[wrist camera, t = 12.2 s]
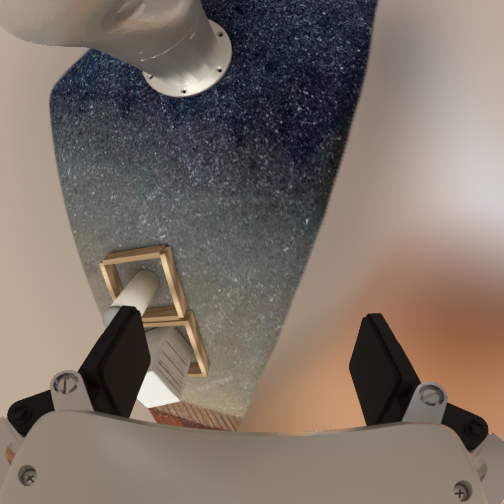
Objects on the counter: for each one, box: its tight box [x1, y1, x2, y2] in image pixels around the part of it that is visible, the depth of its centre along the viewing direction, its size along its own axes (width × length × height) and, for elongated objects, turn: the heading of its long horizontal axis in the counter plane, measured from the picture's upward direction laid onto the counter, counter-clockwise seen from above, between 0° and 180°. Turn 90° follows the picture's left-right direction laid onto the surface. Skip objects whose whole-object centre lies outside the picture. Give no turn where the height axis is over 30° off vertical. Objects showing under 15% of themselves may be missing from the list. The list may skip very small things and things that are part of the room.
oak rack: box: [99, 245, 210, 377], centre depth 46 cm, size 25×13×3 cm, turn 9°
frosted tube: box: [103, 270, 159, 328], centre depth 39 cm, size 5×5×12 cm
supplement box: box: [137, 326, 193, 408], centre depth 44 cm, size 7×7×13 cm
